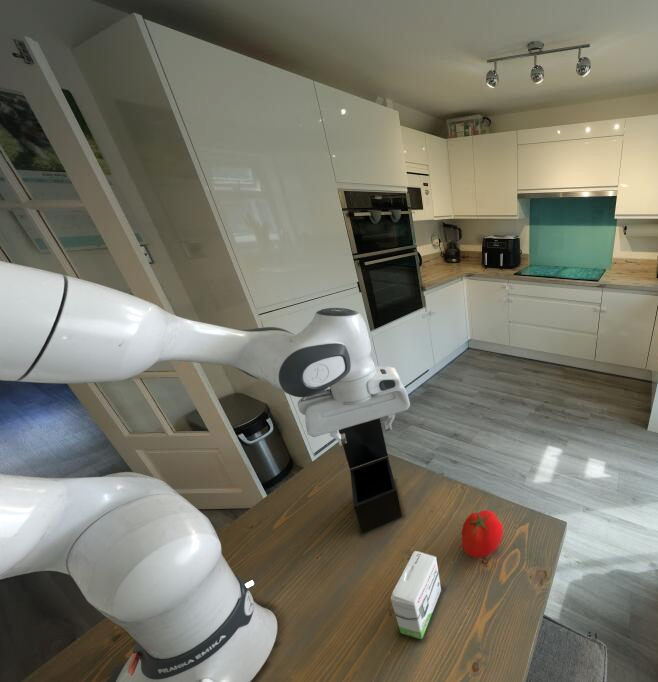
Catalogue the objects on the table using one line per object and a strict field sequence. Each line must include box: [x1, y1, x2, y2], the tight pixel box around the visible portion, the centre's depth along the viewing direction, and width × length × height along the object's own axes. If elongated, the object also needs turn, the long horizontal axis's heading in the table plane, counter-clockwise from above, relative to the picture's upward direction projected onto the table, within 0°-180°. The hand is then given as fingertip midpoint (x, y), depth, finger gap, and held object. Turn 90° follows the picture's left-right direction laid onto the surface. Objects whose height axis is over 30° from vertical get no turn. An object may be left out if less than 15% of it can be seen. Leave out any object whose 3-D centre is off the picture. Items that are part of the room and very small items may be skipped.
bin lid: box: [338, 418, 389, 470], centre depth 83 cm, size 13×10×5 cm
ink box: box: [390, 550, 442, 640], centre depth 60 cm, size 9×5×12 cm, turn 166°
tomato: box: [461, 509, 504, 559], centre depth 72 cm, size 9×10×8 cm
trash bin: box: [349, 456, 403, 534], centre depth 81 cm, size 13×10×10 cm
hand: (366, 435), depth 70 cm, fingers open, 8 cm apart
